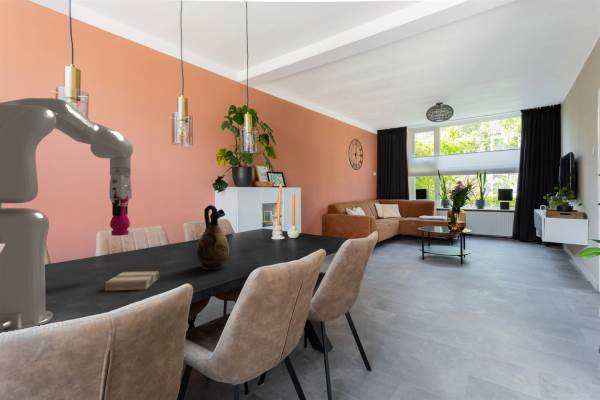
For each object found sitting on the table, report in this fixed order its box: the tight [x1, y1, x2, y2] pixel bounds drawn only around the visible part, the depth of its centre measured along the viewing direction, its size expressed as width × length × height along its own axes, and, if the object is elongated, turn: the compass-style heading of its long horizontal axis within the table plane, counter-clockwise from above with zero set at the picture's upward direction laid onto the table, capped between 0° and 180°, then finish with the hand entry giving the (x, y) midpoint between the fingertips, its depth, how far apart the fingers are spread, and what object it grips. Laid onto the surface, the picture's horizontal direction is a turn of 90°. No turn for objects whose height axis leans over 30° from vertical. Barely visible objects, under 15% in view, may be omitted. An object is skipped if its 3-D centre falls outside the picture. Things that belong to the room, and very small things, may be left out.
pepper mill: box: [109, 195, 131, 237], centre depth 123 cm, size 7×7×20 cm
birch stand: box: [104, 270, 160, 292], centre depth 114 cm, size 14×14×3 cm
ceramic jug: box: [195, 204, 230, 271], centre depth 139 cm, size 17×15×30 cm
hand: (120, 214), depth 123 cm, fingers closed on pepper mill, 5 cm apart
